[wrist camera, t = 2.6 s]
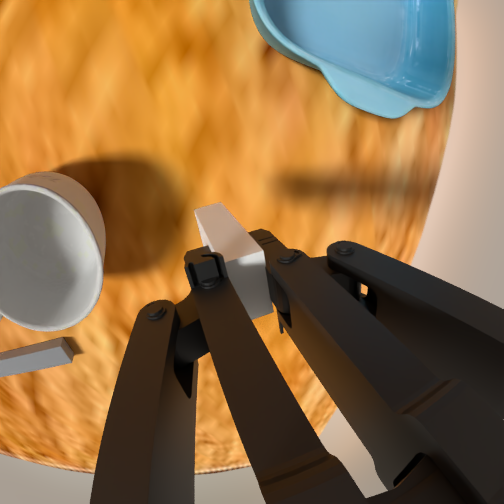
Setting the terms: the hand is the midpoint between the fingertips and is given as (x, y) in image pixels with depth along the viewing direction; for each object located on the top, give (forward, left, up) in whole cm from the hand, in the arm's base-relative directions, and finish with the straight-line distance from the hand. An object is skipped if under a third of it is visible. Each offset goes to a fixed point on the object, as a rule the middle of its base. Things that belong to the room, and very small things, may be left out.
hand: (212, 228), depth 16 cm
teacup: (+14, 0, -9) cm, 17 cm away
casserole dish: (-19, -22, -10) cm, 31 cm away
